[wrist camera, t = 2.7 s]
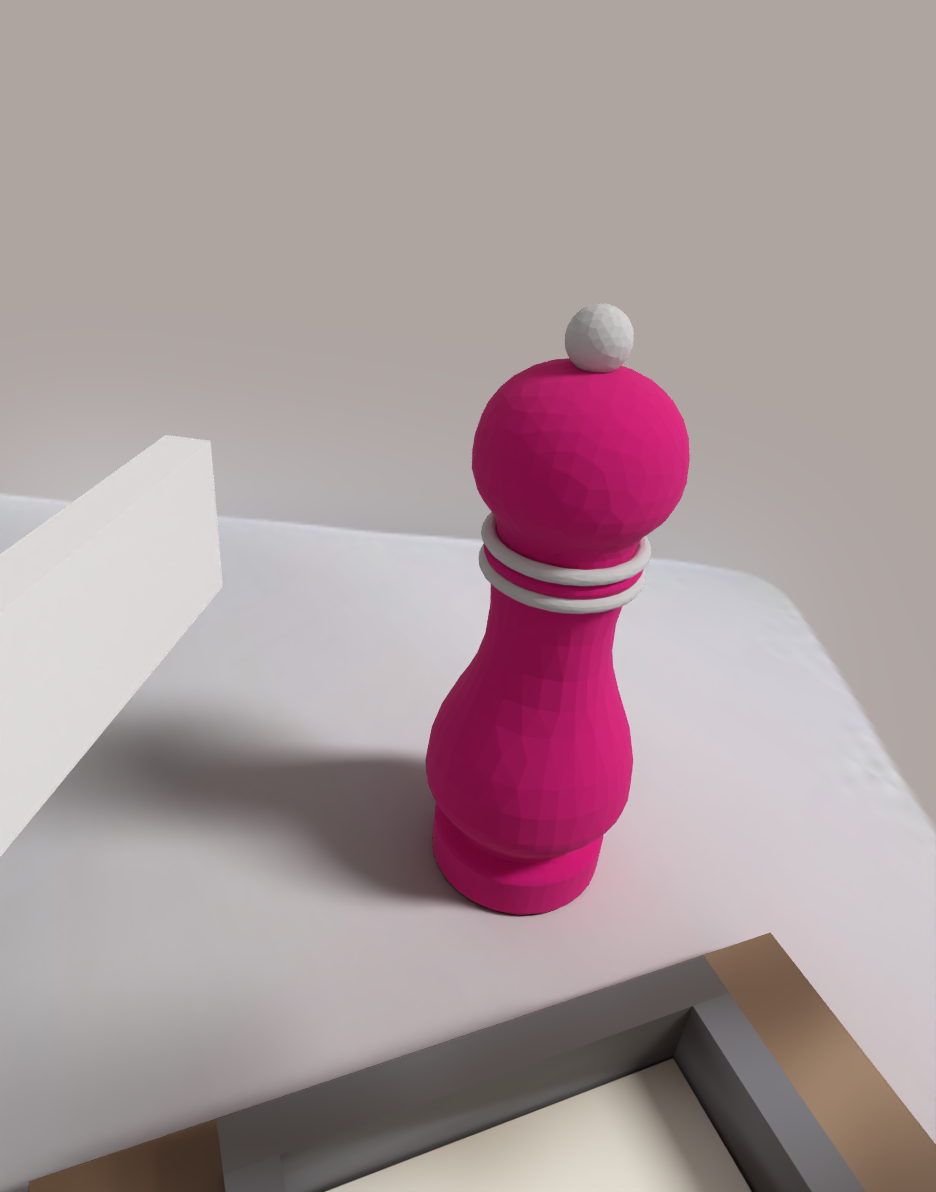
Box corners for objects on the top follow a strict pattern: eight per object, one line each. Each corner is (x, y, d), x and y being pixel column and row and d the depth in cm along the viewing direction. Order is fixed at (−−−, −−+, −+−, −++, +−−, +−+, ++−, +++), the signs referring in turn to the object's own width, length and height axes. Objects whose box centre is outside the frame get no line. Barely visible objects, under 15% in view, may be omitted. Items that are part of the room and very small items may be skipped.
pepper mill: (459, 759, 35) (512, 263, 25) (625, 812, 33) (758, 301, 23) (387, 886, 29) (418, 307, 19) (584, 959, 28) (739, 364, 17)
